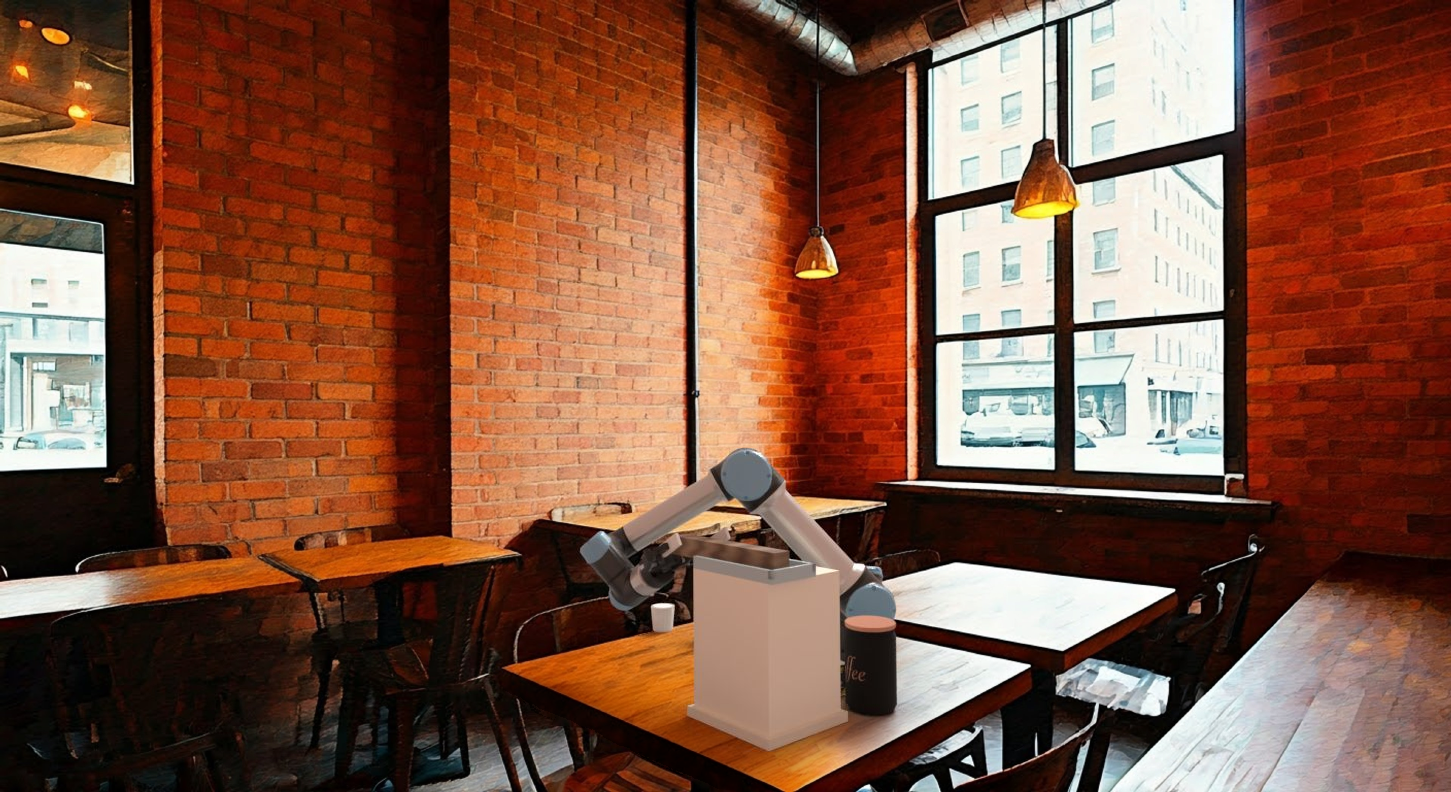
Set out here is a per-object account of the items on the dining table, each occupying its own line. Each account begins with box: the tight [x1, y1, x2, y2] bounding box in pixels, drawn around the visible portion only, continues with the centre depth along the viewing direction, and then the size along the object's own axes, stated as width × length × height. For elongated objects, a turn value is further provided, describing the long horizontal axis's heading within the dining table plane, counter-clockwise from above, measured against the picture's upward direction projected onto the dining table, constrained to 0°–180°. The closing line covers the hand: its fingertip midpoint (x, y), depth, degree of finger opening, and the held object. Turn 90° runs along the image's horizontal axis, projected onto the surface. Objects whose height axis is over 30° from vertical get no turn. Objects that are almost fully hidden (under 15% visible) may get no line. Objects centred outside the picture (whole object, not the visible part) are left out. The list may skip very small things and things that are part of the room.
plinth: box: [686, 566, 849, 752], centre depth 164 cm, size 24×22×30 cm
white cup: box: [650, 602, 675, 633], centre depth 233 cm, size 7×7×7 cm
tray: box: [692, 556, 816, 585], centre depth 161 cm, size 23×12×2 cm, turn 41°
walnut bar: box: [673, 533, 790, 570], centre depth 167 cm, size 32×4×4 cm, turn 41°
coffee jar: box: [844, 616, 898, 717], centre depth 169 cm, size 11×11×18 cm
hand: (703, 535), depth 173 cm, fingers open, 13 cm apart
